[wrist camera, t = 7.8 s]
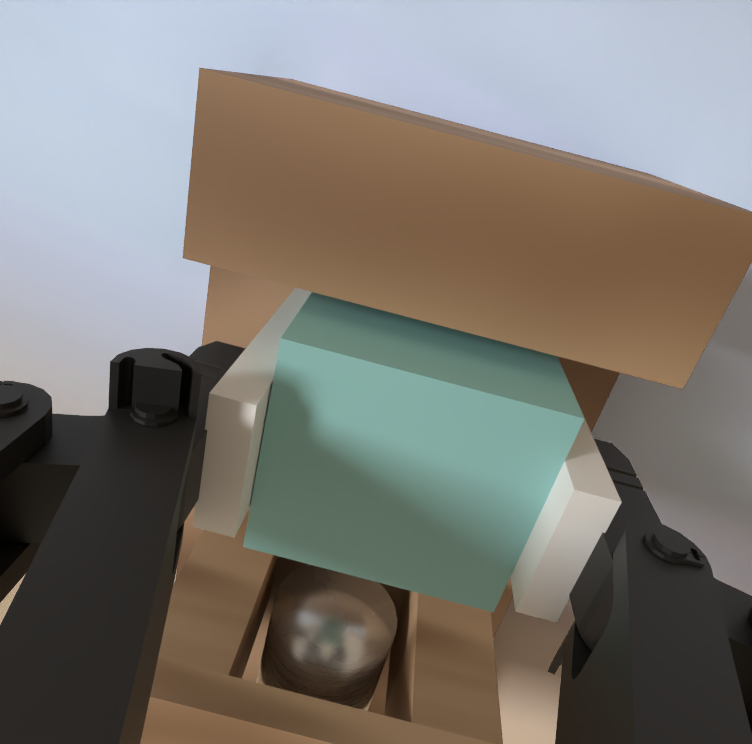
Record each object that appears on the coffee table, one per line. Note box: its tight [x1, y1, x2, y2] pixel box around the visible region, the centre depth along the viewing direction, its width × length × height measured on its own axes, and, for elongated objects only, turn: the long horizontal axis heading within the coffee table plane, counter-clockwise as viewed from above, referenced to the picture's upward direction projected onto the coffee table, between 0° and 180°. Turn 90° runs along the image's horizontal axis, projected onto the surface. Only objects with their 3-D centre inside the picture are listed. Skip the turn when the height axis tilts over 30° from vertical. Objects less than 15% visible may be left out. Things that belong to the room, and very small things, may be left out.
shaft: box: [256, 564, 397, 711], centre depth 21 cm, size 12×4×4 cm, turn 167°
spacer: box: [243, 292, 585, 613], centre depth 13 cm, size 4×5×7 cm
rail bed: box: [140, 68, 752, 744], centre depth 17 cm, size 22×12×8 cm, turn 167°
